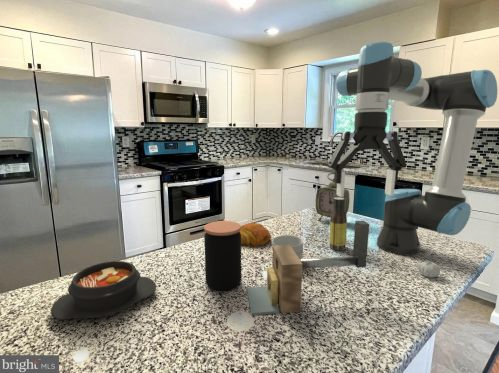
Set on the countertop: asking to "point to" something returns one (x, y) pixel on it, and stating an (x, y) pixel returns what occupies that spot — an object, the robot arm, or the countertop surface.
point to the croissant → (254, 234)
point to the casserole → (103, 291)
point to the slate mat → (260, 301)
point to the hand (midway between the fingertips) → (364, 195)
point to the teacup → (290, 243)
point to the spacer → (272, 286)
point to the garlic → (429, 269)
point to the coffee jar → (222, 255)
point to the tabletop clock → (329, 199)
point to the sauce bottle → (338, 225)
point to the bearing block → (288, 278)
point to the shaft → (356, 260)
